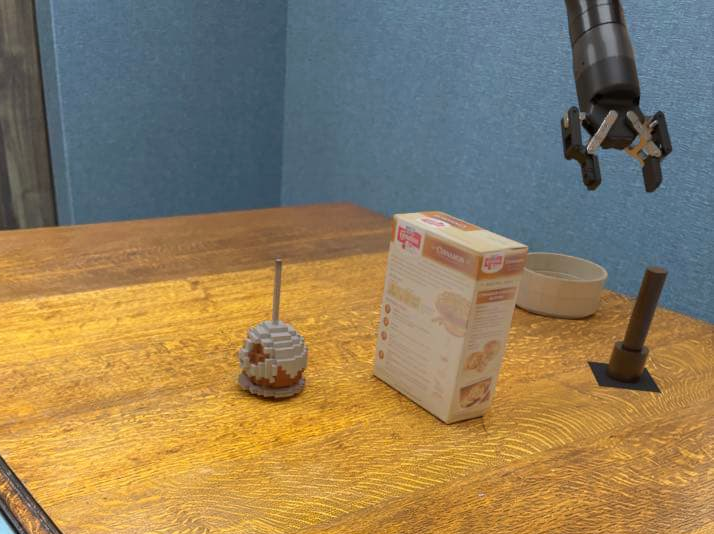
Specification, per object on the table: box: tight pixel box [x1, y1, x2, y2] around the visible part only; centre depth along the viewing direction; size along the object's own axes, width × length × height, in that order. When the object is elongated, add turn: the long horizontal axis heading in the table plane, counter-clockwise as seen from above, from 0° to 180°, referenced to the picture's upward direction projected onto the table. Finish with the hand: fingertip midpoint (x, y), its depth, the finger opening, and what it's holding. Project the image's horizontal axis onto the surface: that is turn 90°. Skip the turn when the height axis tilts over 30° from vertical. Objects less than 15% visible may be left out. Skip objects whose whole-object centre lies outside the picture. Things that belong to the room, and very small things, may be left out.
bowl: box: [515, 251, 609, 320], centre depth 128 cm, size 14×14×6 cm
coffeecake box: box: [372, 210, 530, 425], centre depth 93 cm, size 15×7×20 cm, turn 32°
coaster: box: [587, 360, 662, 394], centre depth 107 cm, size 8×8×1 cm
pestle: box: [606, 266, 669, 383], centre depth 103 cm, size 4×4×14 cm
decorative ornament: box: [237, 258, 309, 399], centre depth 93 cm, size 8×8×15 cm
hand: (624, 188), depth 104 cm, fingers open, 8 cm apart
